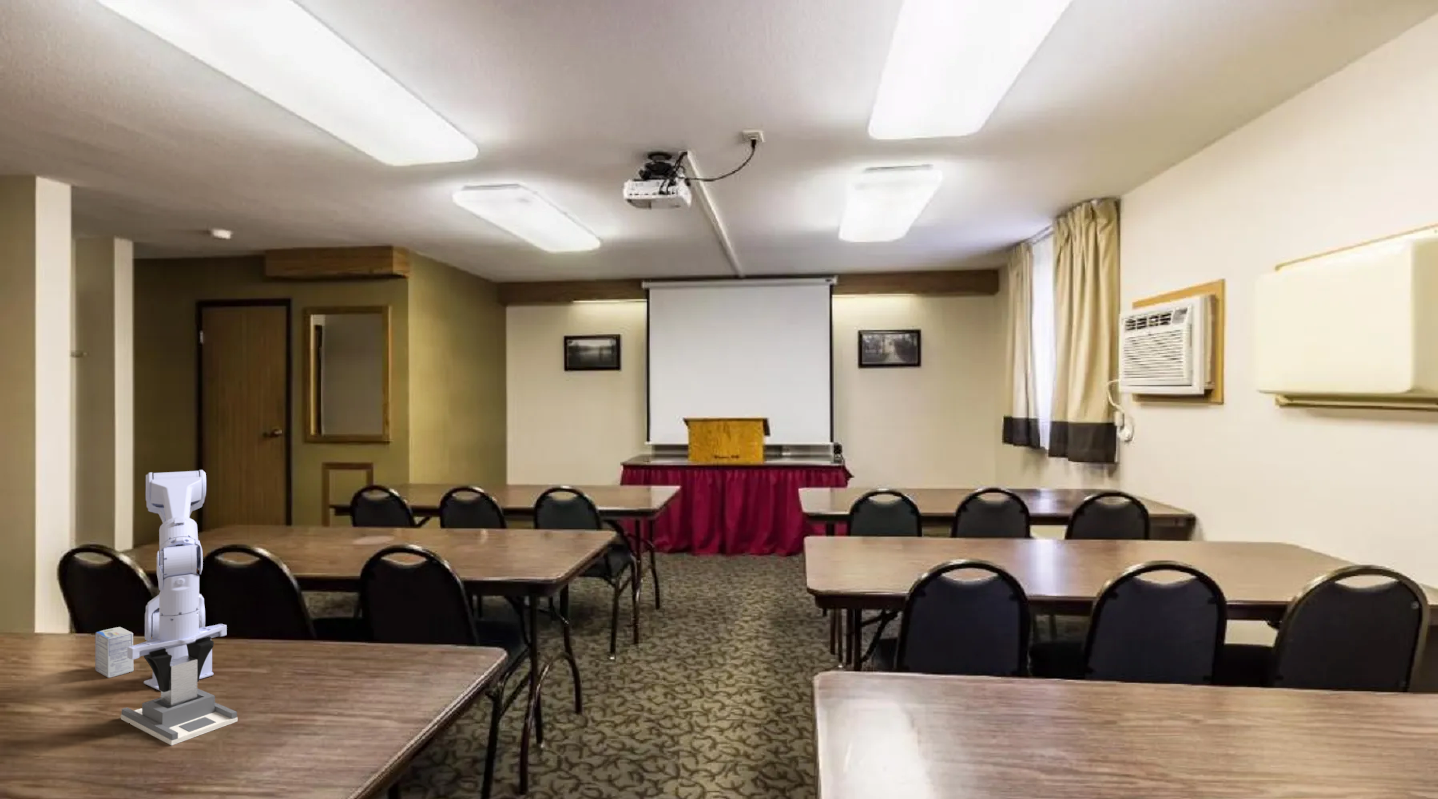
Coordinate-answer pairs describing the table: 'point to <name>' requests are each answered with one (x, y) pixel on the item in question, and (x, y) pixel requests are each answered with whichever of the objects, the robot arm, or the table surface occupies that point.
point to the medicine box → (113, 652)
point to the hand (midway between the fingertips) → (179, 685)
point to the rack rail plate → (180, 718)
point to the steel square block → (181, 681)
